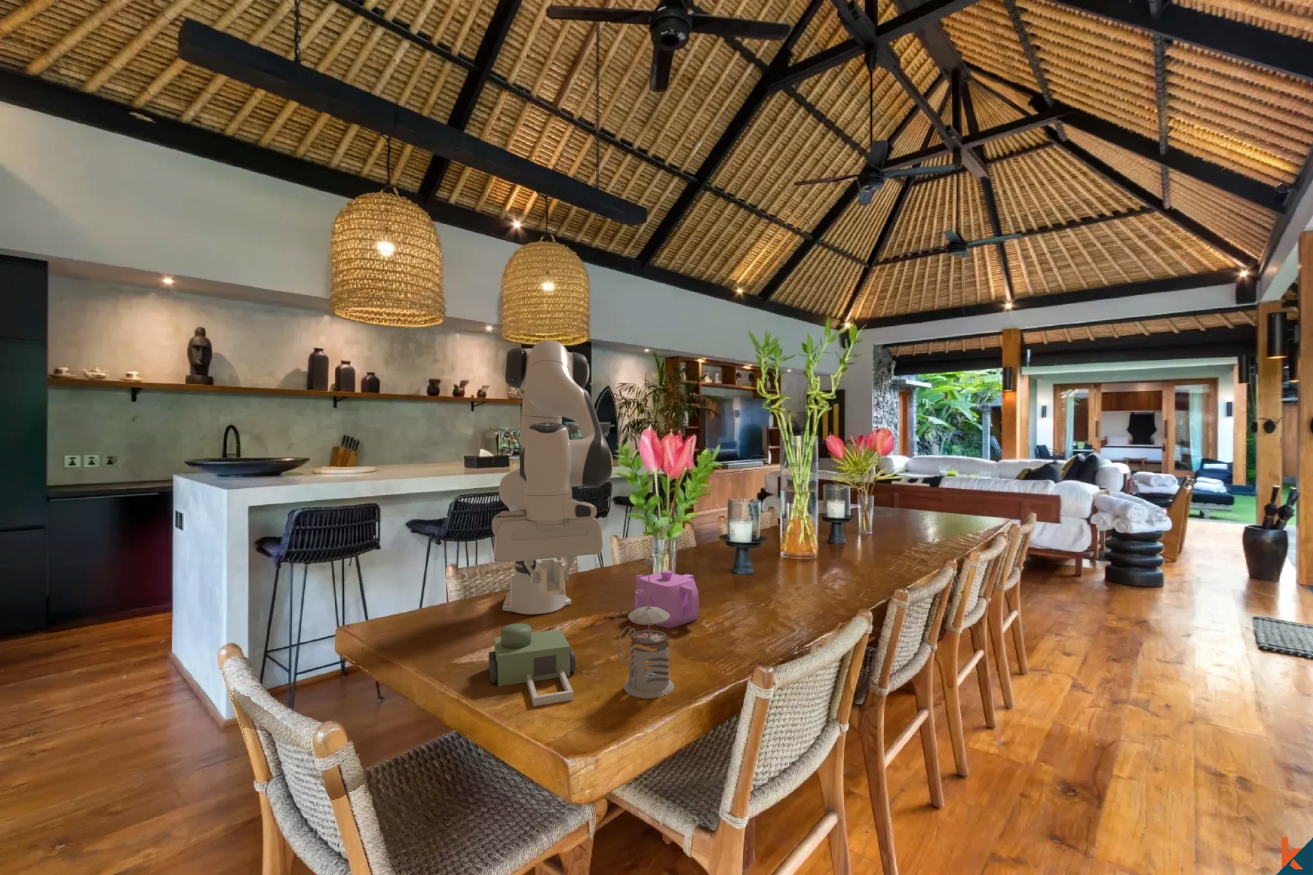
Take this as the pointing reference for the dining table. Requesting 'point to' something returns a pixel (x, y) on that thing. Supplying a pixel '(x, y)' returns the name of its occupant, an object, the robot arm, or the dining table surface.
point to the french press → (648, 652)
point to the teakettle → (669, 596)
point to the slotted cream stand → (550, 577)
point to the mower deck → (532, 660)
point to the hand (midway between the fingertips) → (549, 581)
